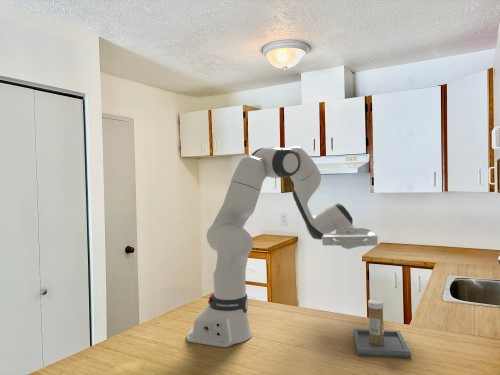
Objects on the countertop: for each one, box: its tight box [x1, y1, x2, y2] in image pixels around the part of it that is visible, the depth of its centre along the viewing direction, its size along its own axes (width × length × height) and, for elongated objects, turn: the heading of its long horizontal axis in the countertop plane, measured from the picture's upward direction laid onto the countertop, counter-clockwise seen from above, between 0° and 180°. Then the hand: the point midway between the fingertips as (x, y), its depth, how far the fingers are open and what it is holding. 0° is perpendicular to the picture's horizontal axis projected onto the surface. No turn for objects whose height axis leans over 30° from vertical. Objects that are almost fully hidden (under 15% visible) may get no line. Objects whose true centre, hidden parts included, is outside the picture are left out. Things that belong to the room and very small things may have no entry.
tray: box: [352, 328, 412, 359], centre depth 117 cm, size 15×15×2 cm
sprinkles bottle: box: [367, 298, 385, 345], centre depth 117 cm, size 5×5×14 cm
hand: (350, 243), depth 132 cm, fingers open, 8 cm apart
